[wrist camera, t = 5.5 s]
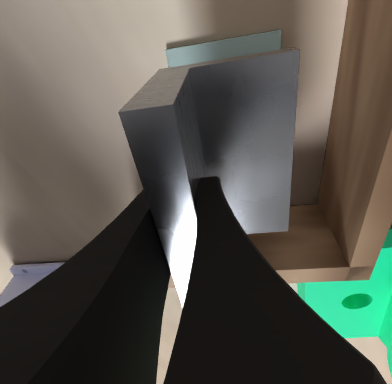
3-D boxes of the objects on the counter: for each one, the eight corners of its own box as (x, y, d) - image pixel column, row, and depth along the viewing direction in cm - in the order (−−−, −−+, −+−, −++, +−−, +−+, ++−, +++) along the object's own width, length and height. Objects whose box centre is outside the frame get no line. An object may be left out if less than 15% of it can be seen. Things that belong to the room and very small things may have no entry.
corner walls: (142, 229, 20) (123, 289, 16) (59, 12, 12) (-27, 17, 8) (333, 215, 18) (369, 280, 14) (389, -56, 10) (518, -100, 6)
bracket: (159, 69, 10) (118, 112, 5) (293, 46, 9) (359, 77, 5) (193, 227, 14) (185, 315, 10) (284, 220, 13) (315, 312, 9)
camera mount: (294, 229, 19) (354, 399, 11) (409, 214, 18) (578, 397, 10) (298, 312, 26) (336, 456, 18) (381, 306, 25) (466, 461, 16)
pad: (166, 49, 12) (165, 49, 12) (280, 29, 12) (281, 29, 12) (194, 191, 17) (194, 193, 17) (275, 183, 17) (276, 185, 17)
